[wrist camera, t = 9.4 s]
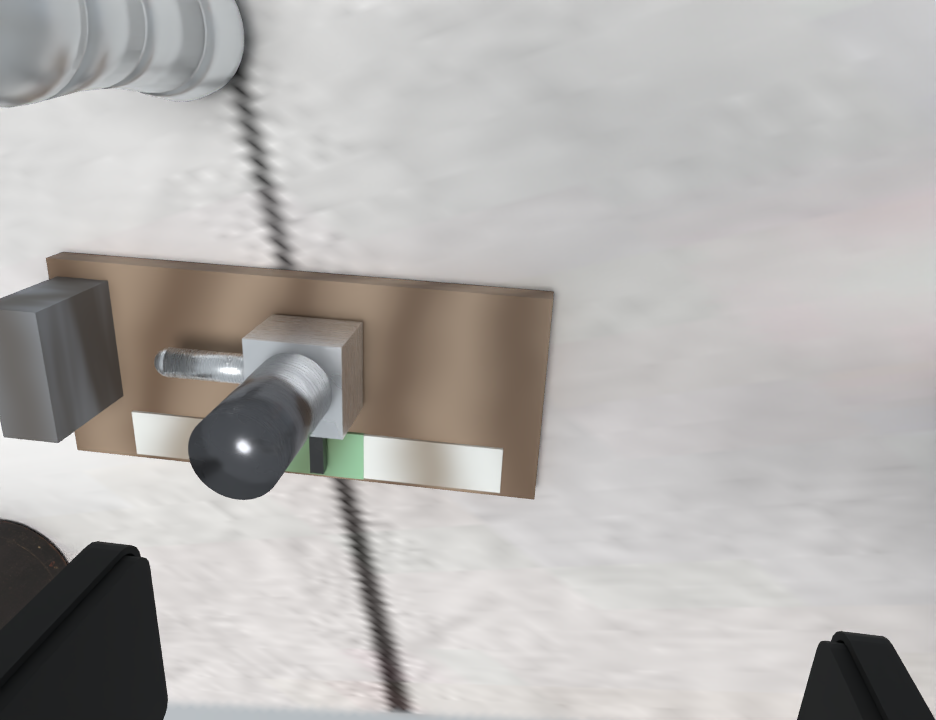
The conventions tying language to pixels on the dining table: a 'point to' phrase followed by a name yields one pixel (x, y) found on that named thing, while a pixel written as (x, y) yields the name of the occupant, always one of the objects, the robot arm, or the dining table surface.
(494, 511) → the dining table surface
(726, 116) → the dining table surface
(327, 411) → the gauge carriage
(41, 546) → the container
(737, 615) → the dining table surface
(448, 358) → the gauge base
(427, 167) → the dining table surface
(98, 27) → the plastic bottle
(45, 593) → the robot arm
